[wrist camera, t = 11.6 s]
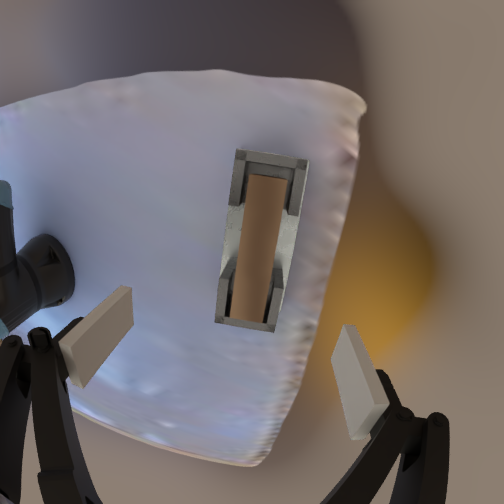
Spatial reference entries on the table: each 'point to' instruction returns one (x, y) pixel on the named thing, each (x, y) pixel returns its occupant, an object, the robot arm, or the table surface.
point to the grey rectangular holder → (296, 177)
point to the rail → (257, 246)
